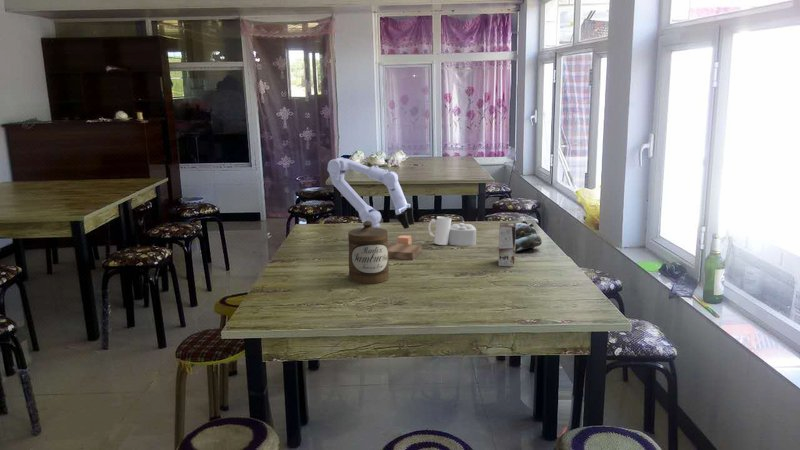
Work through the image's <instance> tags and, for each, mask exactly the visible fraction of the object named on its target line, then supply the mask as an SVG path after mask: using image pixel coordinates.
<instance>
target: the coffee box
mask: <svg viewBox="0 0 800 450" xmlns="http://www.w3.org/2000/svg"><path fill="white" fill-rule="evenodd" d="M516 224H517V222H500V224H499V234H498V235H499V236H498V266H499V267H514V266H515V256H516V253H515V240H516V239H515V238H516Z"/></svg>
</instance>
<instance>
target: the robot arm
mask: <svg viewBox="0 0 800 450" xmlns="http://www.w3.org/2000/svg"><path fill="white" fill-rule="evenodd" d="M349 170H352V171H355V172H358V173H362V174H364V175H367V177H368V178H369V179H371V180H374V181H377V182H379V183H382V184H383V185H384V186H385V187H386V188H387V190H388V191H387V192H388V193H389V195H390V198H391V201H392V203H393V206H394V208H395V210H394V212H395V215H394V219H396V220H397V221H398V222H399V223H400V225H401V226H402V227H403V229H404V230H405V229H409V228H410V226H411V225H415V219H414V213H413V212H414V208H413V206H412V207H411V203H408V202H407V200H406V196H405V195H404V191H403V189H402V186H401V185H400V182H399V175H398V173H397V172H395V171H394V170H390V171H389V169H387V168H386V169H384V168H381V167H379V165H371V166H370V167H369V166H367V165H364V164H362V163H360V162H357V161H354V160H353V159H350V158H345V157H342V156H340V157H337V158H333V159H330V160H329V161H328V163H327V169H326V171H327V172H328V174H329V176H330V178H329V179H330V181H331V184H332V186H334V187H335V188H336V189H337V191H339V192H340V194H341V195H342V196H343V197H344V198H345V199H346V201H348V203H349V204H350V205H351V206H352V207H353V208H354V209H355V210H356V211H357V212H358V217H359V218H360V219H361V221H362V224H363V223H364V222H365V221H370V222H372V227H374V228H381V224H380V222H381V221H382V214H381V212H380V211H379V210H377V209H375V208H374V207H373V206H371V205H369V204H367V203H366V202H365V200H363V198H362V197H361V196H360V195H359V194H358V192H356V191H355V190H354V189H353V187H352V186H351V185H350V184H349V183H348V182H347V181H346V180H345V173H346V171H349ZM363 227H364V226H363V225H360V226H359V228H363Z"/></svg>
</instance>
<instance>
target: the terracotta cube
mask: <svg viewBox="0 0 800 450" xmlns="http://www.w3.org/2000/svg"><path fill="white" fill-rule="evenodd" d="M412 240H413V239H412V235H404V234H403V235H399V236H397V242H396V243H397V244H410V245H413V244H412Z"/></svg>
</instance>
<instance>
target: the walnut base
mask: <svg viewBox="0 0 800 450" xmlns="http://www.w3.org/2000/svg"><path fill="white" fill-rule="evenodd" d="M422 253H423V245H422V244H421V245H419V244H412V245H410V244H398V243H397V242H396V243H393V242H391V243H390V244H388V259H396V260H408V261H414V260H415V259H416V258H417V257H418V256H419V255H421V254H422Z"/></svg>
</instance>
